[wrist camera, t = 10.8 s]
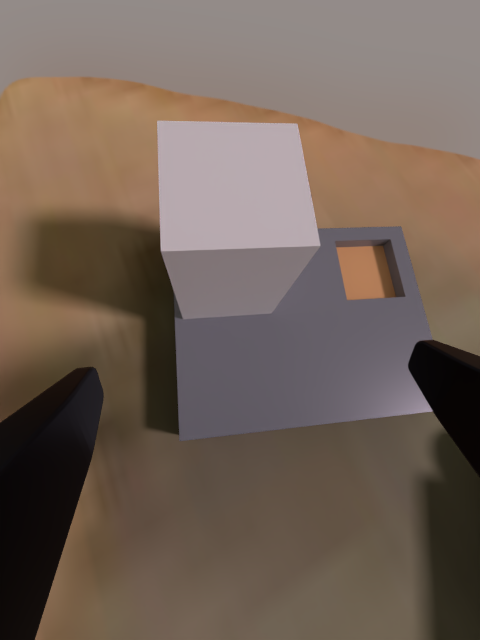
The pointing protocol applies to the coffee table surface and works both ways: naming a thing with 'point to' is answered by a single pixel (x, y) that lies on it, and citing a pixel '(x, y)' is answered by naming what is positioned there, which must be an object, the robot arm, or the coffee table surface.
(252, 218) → the pale grey block
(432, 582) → the coffee table surface
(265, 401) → the socket plate
